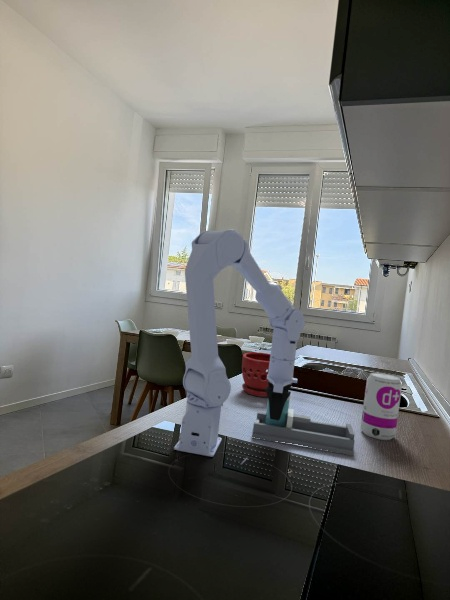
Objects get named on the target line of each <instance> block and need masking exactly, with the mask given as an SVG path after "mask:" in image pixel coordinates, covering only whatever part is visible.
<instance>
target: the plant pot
mask: <svg viewBox="0 0 450 600" xmlns="http://www.w3.org/2000/svg"><path fill="white" fill-rule="evenodd" d="M270 355H271V353H267V352H253V351H252V352H245V353H244V354H243V355H242V359H241V360H242V361H241V374H242V379H243V381H244V383H243V384H242V385H241V387H242V389H243V391H244V392H245V393H247V394H249V395H252V396H255V397H262V398H268V396H267V393H266V387H269V385H268V381H269V380H268V379H267V375H268V371H269V363H270Z"/></svg>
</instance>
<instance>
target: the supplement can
mask: <svg viewBox="0 0 450 600" xmlns="http://www.w3.org/2000/svg"><path fill="white" fill-rule="evenodd" d="M402 388H403V385H402V382H401V378H400V377H399V376H396V375H392V374H388V373H383V372H382V373H381V372H371V373H369V376H368V377H367V378H366V385H365V391H364V399H363V405H362V406H363V407H362V415H361V421H360V430H361V431H362V433H363V434H364V435H366V436H367V437H369V438H372V439H376V440H381V441H390V440H392V439H393V438H395V437H396V432H397V427H398V426H397V424H398V418H399V410H400V403H401V395H402V390H403V389H402Z"/></svg>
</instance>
